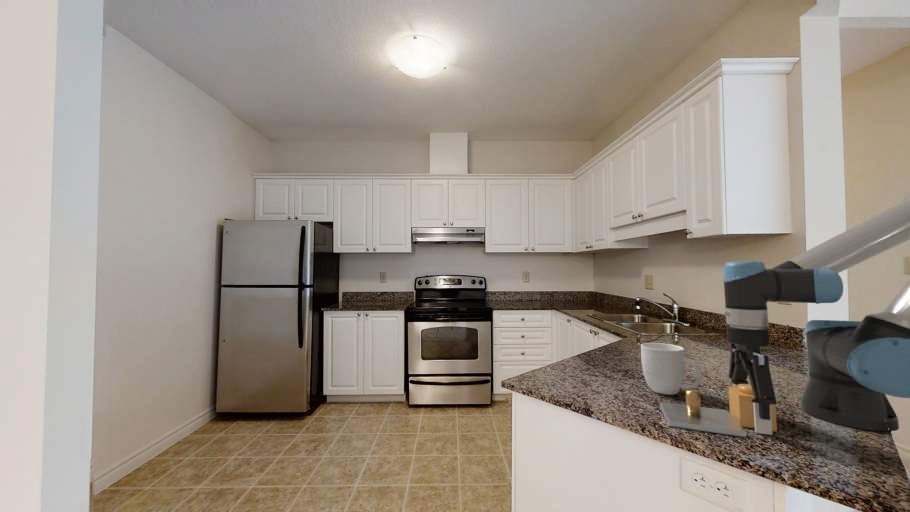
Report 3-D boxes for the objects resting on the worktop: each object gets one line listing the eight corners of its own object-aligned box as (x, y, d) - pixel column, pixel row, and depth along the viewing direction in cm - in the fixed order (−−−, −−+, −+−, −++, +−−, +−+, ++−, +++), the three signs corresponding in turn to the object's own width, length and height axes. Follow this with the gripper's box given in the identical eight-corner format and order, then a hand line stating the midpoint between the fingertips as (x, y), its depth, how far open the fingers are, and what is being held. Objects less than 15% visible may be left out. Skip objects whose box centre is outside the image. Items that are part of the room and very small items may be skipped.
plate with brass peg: (726, 414, 81) (724, 387, 82) (746, 437, 70) (745, 405, 71) (660, 406, 87) (659, 380, 87) (669, 426, 76) (668, 396, 76)
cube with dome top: (763, 419, 79) (761, 384, 79) (777, 431, 73) (774, 393, 73) (729, 415, 81) (728, 381, 82) (740, 426, 75) (738, 389, 76)
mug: (706, 394, 95) (704, 348, 96) (698, 405, 87) (696, 355, 88) (648, 382, 106) (646, 341, 106) (637, 391, 98) (635, 346, 99)
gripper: (711, 319, 90) (715, 401, 89) (747, 334, 69) (753, 442, 68) (745, 320, 88) (750, 405, 86) (795, 336, 66) (802, 449, 65)
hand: (751, 421), depth 77 cm, fingers open, 11 cm apart
